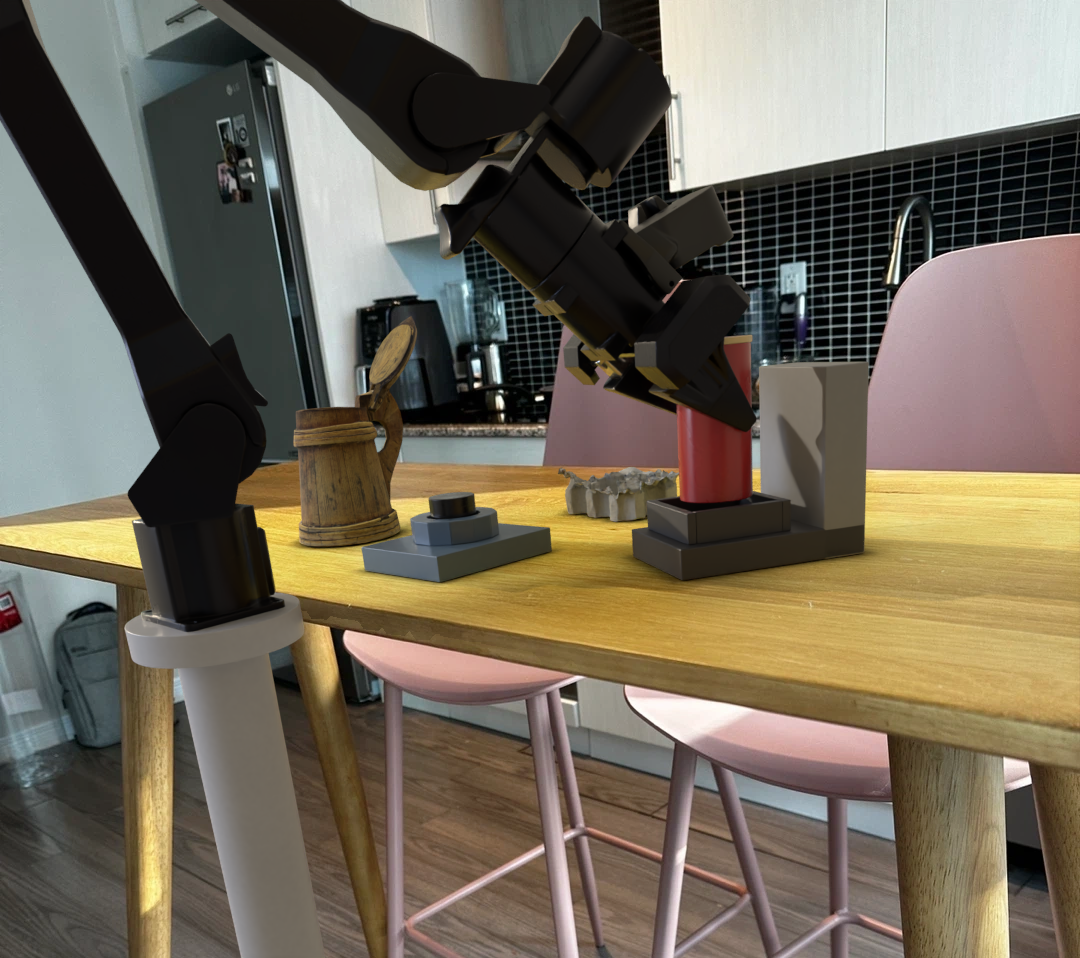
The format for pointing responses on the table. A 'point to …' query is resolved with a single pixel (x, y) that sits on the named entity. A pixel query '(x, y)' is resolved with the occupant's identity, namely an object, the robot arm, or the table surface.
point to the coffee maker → (779, 483)
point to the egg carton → (618, 493)
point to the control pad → (455, 546)
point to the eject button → (452, 505)
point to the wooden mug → (353, 456)
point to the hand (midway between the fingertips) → (734, 424)
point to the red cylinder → (717, 443)
